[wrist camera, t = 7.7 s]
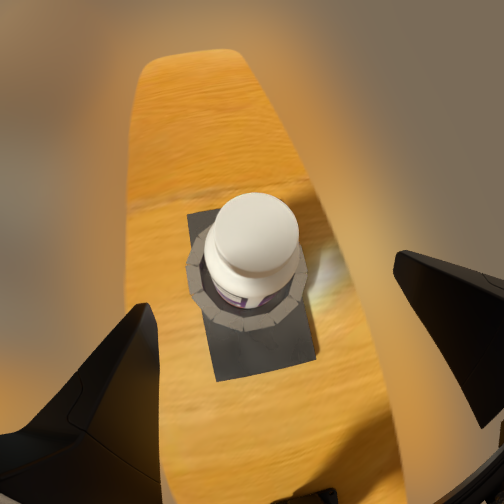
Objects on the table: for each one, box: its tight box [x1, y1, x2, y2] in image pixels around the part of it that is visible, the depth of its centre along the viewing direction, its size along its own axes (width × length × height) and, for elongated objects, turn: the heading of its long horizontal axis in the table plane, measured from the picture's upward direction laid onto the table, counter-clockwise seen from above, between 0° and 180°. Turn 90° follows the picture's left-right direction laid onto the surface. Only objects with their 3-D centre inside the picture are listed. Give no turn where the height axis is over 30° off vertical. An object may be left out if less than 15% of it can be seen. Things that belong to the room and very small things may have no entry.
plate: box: [187, 209, 316, 382], centre depth 22 cm, size 14×8×1 cm, turn 12°
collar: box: [186, 223, 308, 332], centre depth 21 cm, size 10×9×2 cm
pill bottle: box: [204, 193, 300, 308], centre depth 17 cm, size 5×5×10 cm
